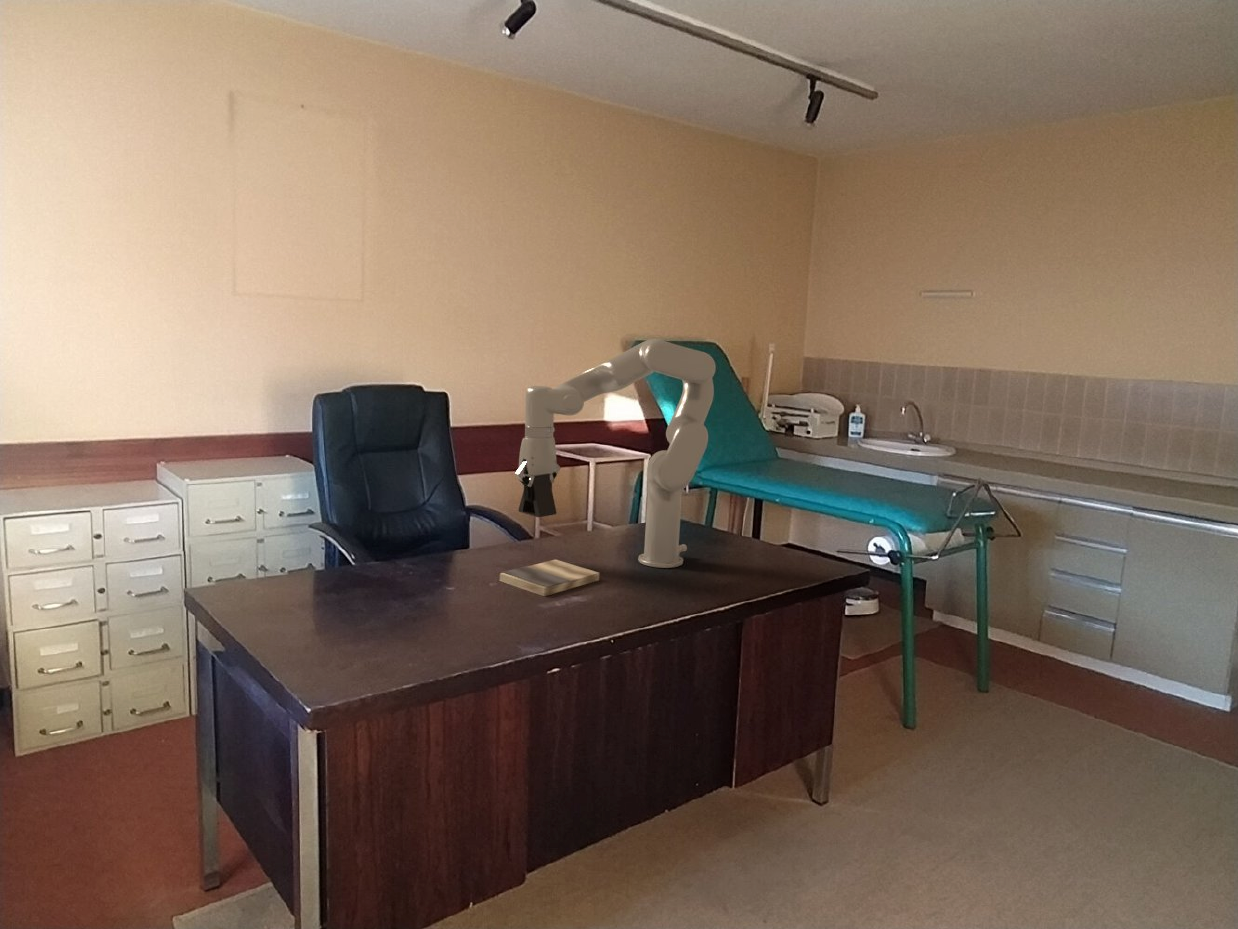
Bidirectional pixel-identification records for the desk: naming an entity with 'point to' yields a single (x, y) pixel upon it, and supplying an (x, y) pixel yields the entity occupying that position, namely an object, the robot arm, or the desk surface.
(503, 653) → the desk surface
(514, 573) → the subfloor panel
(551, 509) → the dark a-frame stand
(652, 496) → the robot arm
